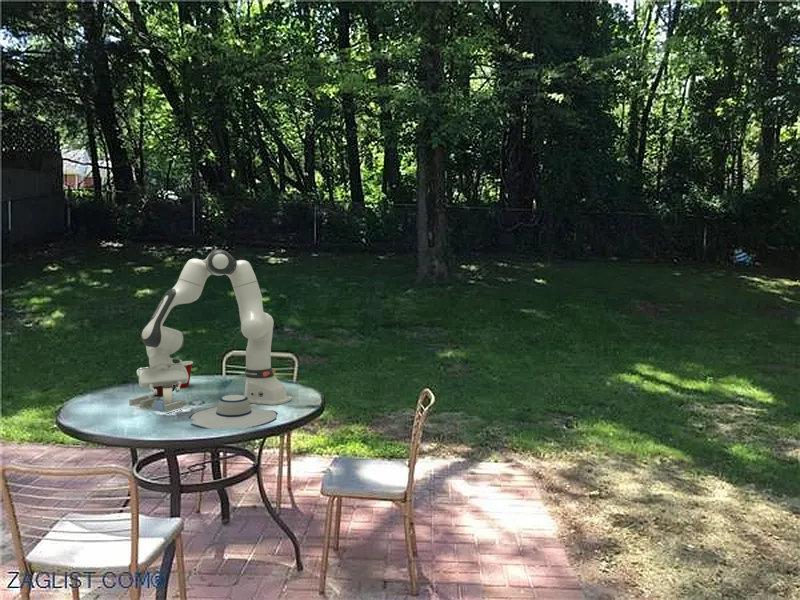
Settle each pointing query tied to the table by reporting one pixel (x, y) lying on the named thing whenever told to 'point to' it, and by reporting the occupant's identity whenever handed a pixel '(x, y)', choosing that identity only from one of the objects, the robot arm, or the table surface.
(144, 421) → the table surface
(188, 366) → the plastic cup
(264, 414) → the sun hat
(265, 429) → the table surface
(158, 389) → the mug
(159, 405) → the stepped cream block
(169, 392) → the grey-capped cream cylinder
